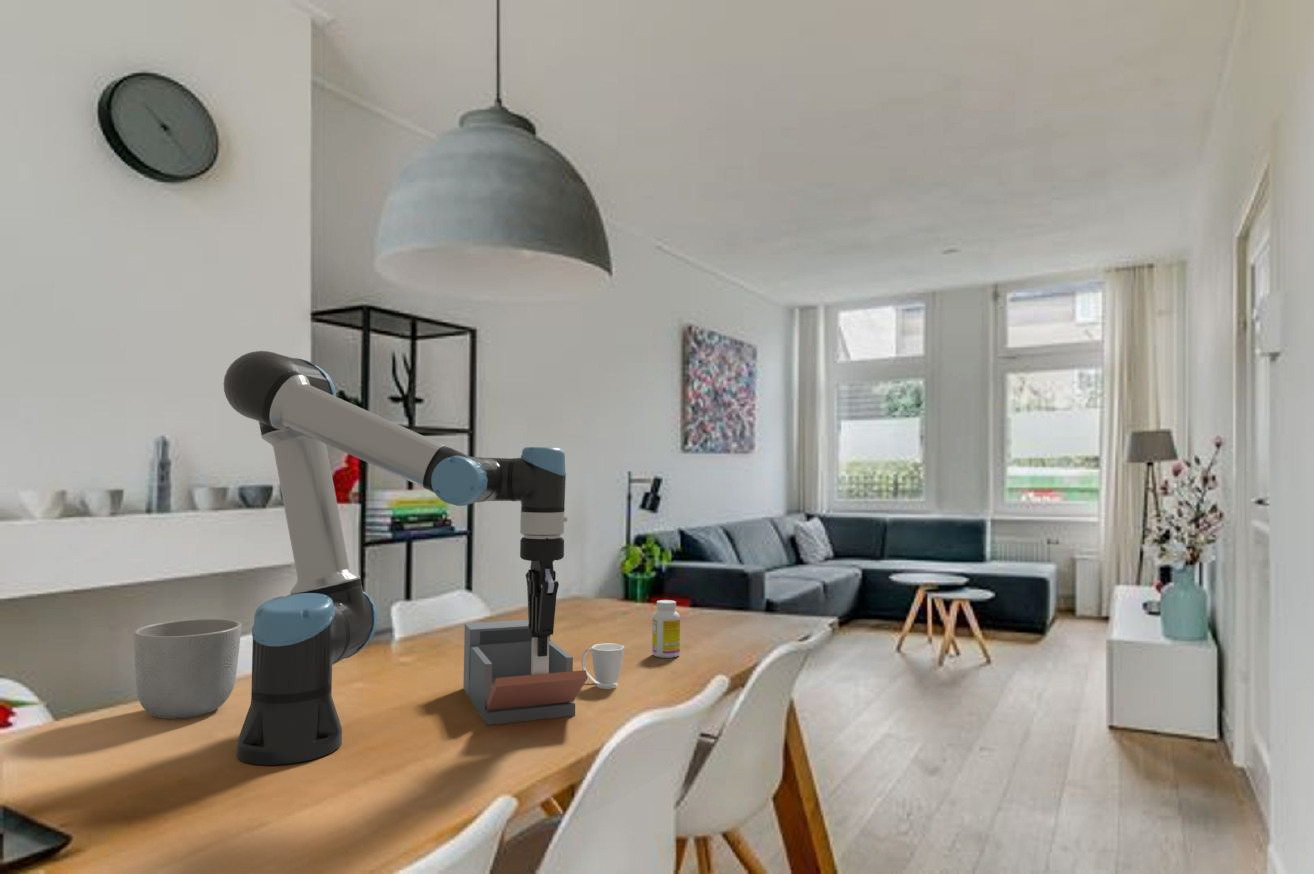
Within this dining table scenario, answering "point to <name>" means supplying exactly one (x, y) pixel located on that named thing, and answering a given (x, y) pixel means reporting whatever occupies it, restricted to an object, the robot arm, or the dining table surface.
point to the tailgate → (535, 689)
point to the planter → (186, 666)
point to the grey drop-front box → (510, 663)
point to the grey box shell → (492, 638)
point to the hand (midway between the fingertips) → (539, 673)
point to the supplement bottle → (666, 630)
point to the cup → (605, 664)
